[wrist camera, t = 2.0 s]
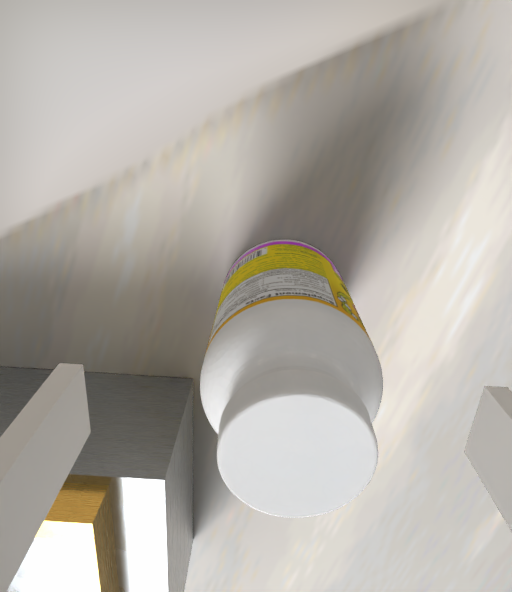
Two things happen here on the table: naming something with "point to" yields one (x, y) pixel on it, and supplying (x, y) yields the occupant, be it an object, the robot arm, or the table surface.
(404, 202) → the table surface
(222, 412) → the supplement bottle
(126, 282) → the table surface
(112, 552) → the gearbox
